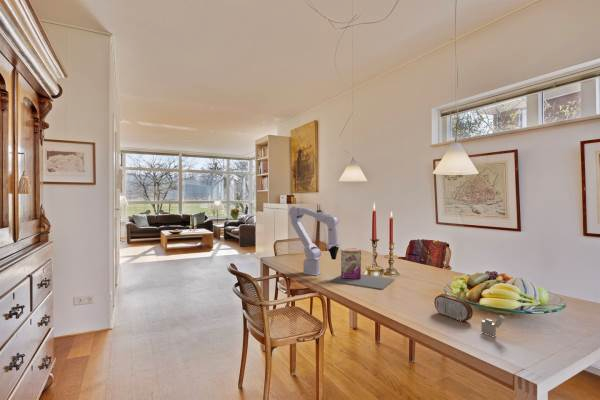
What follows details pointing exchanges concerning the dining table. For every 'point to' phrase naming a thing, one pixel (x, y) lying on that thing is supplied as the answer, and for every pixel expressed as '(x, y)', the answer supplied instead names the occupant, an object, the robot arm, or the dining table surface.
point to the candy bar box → (350, 264)
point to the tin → (453, 307)
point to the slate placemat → (365, 281)
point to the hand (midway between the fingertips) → (333, 259)
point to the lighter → (491, 325)
